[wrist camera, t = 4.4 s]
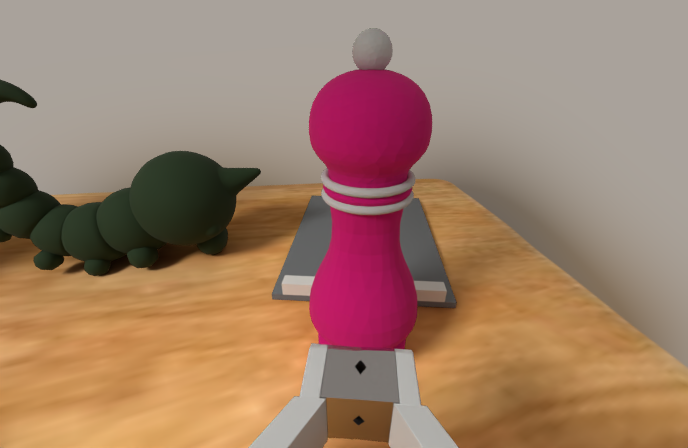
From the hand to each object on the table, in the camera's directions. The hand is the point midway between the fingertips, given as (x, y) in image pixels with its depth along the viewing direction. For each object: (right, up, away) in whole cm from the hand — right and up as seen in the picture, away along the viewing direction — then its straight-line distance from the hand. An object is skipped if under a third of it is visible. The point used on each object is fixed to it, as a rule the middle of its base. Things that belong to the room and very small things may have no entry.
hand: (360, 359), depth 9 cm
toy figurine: (-22, 0, +24) cm, 32 cm away
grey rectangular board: (+2, +2, +27) cm, 27 cm away
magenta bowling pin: (+1, -5, +14) cm, 15 cm away
